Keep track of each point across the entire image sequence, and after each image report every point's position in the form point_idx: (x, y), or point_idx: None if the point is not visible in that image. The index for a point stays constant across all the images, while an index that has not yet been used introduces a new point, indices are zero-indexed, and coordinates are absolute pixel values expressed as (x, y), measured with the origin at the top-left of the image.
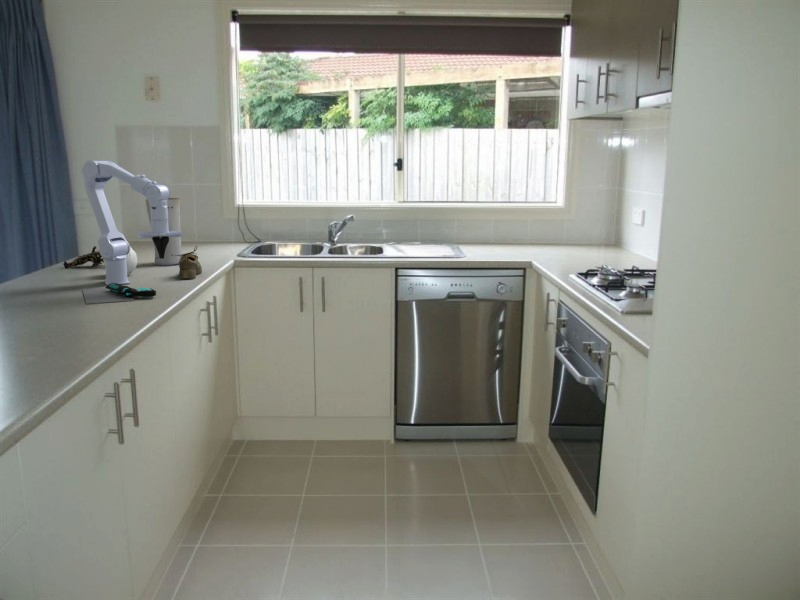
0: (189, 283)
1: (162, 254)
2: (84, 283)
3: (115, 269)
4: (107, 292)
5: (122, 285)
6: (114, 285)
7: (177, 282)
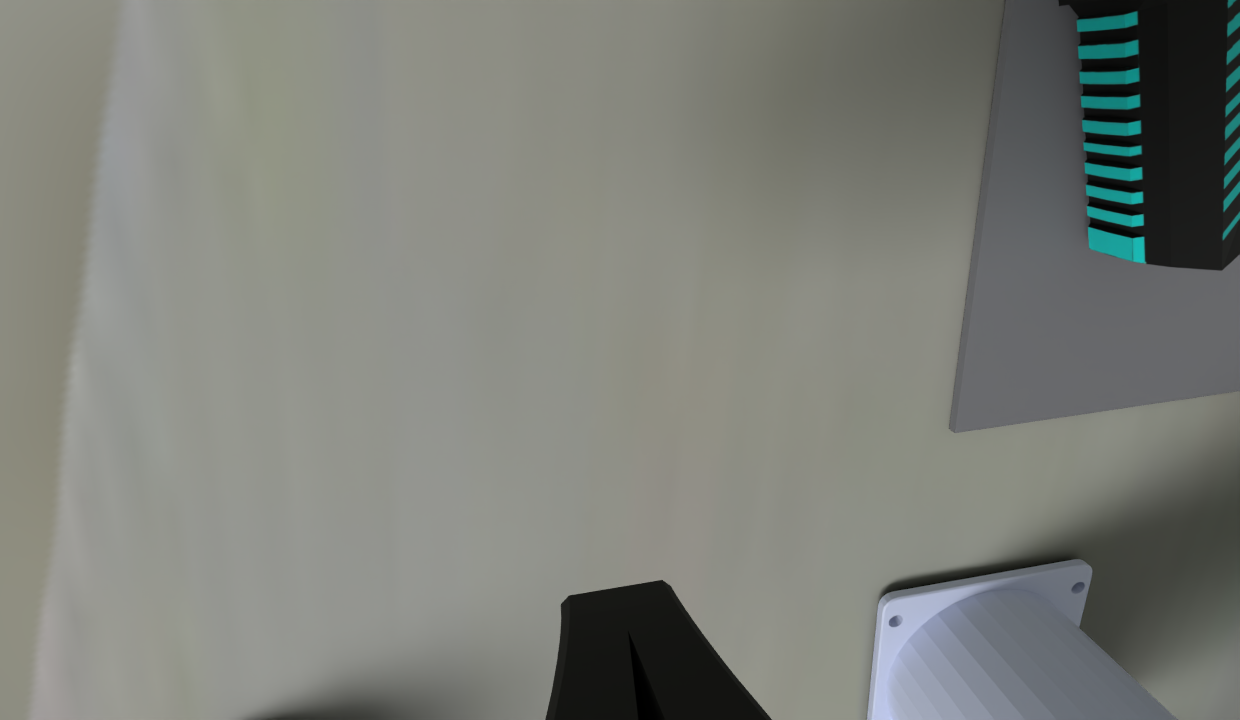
0: (220, 522)
1: (619, 659)
2: (1194, 665)
3: (1124, 708)
4: None
5: (1174, 27)
6: (1230, 120)
7: (382, 601)
